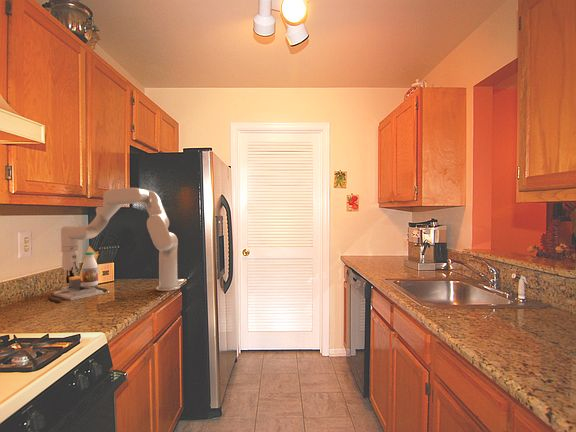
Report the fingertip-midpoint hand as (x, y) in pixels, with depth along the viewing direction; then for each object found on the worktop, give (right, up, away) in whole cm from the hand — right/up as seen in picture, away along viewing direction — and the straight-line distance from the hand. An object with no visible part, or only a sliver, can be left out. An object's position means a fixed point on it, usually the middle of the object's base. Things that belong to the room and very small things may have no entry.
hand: (70, 282), depth 170 cm
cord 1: (+5, -5, -17) cm, 19 cm away
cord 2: (+14, -5, +4) cm, 15 cm away
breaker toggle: (+4, -3, -3) cm, 6 cm away
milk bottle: (+2, -5, +15) cm, 16 cm away
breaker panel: (+8, -5, -5) cm, 11 cm away
